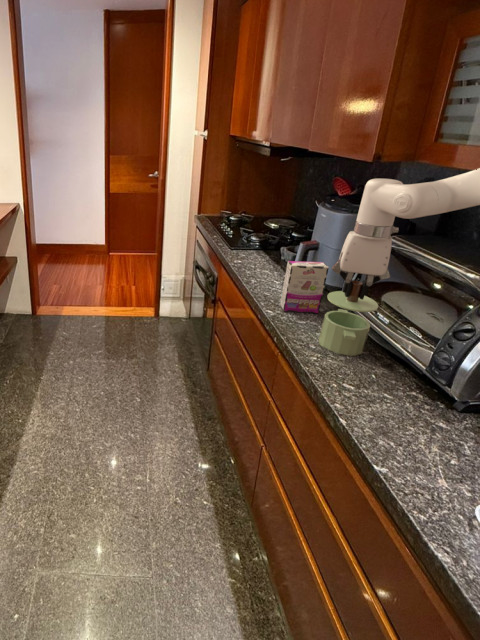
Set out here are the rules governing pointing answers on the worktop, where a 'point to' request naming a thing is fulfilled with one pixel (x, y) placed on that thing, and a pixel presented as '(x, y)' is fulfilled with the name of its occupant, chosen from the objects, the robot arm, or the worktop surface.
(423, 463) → the worktop surface
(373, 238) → the robot arm
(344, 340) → the pot
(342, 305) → the lid
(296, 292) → the candy bar box
